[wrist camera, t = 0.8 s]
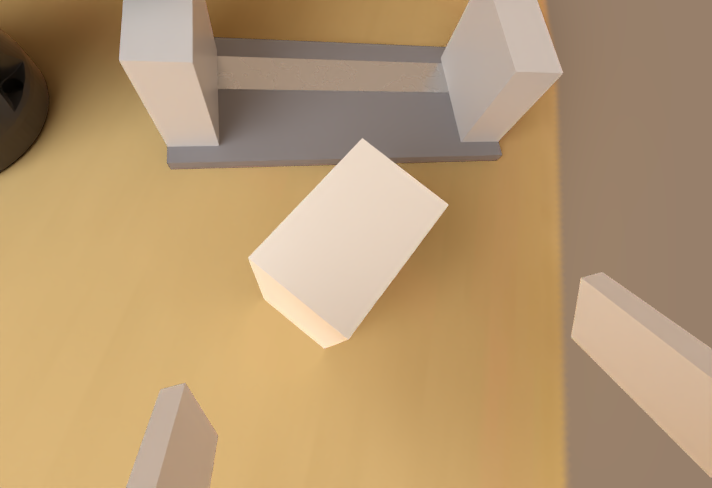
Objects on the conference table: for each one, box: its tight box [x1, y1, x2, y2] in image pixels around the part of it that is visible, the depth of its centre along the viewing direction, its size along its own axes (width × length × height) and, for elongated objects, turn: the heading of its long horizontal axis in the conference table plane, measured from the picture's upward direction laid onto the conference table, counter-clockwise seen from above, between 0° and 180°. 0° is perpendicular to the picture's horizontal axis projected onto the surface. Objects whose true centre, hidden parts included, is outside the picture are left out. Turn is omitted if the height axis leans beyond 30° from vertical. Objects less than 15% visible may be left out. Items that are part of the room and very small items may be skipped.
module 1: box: [119, 0, 219, 147], centre depth 27 cm, size 4×10×9 cm, turn 7°
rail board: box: [167, 37, 502, 169], centre depth 34 cm, size 30×13×1 cm, turn 97°
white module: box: [248, 138, 448, 349], centre depth 24 cm, size 6×9×12 cm, turn 142°
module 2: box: [441, 0, 563, 142], centre depth 32 cm, size 4×10×9 cm, turn 7°
